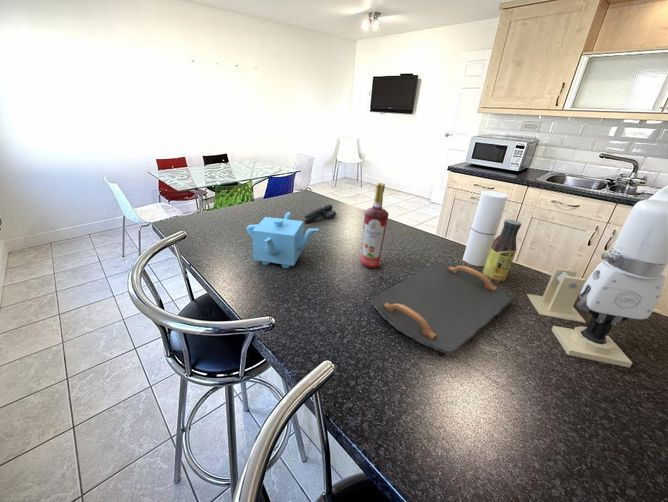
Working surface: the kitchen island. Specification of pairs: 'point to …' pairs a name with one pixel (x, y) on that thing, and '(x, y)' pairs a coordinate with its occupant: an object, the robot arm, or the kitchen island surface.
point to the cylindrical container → (484, 227)
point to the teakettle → (278, 240)
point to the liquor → (374, 230)
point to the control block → (590, 347)
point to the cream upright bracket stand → (560, 296)
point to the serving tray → (442, 306)
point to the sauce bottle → (502, 252)
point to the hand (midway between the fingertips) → (594, 334)
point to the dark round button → (591, 338)
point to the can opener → (320, 213)
